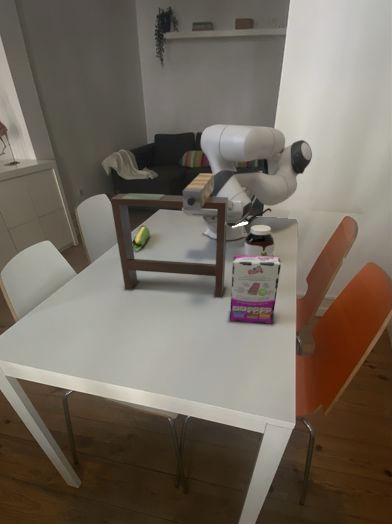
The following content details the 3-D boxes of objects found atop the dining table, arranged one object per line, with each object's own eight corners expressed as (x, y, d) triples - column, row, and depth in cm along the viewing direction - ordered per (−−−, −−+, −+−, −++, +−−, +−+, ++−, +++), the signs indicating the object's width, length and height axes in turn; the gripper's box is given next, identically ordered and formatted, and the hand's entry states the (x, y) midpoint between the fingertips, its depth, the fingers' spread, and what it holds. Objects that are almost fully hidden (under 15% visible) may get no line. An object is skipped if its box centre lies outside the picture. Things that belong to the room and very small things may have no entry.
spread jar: (244, 265, 112) (247, 231, 104) (240, 253, 121) (242, 221, 113) (278, 264, 112) (284, 231, 105) (271, 252, 121) (276, 220, 114)
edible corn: (151, 235, 138) (150, 224, 135) (143, 252, 122) (141, 240, 120) (139, 234, 138) (138, 224, 136) (130, 252, 123) (128, 240, 120)
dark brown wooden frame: (131, 280, 103) (118, 192, 87) (223, 287, 98) (228, 196, 82) (125, 289, 98) (110, 198, 82) (221, 297, 94) (225, 202, 78)
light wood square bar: (199, 189, 90) (199, 173, 88) (213, 189, 90) (214, 173, 87) (182, 210, 72) (181, 191, 70) (199, 211, 72) (199, 192, 69)
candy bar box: (271, 314, 86) (280, 255, 76) (272, 324, 82) (282, 264, 72) (229, 311, 87) (233, 253, 77) (228, 321, 83) (232, 261, 73)
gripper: (186, 203, 113) (178, 189, 99) (244, 205, 109) (244, 190, 96) (185, 221, 113) (176, 210, 100) (242, 224, 110) (242, 212, 97)
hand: (210, 200), depth 98 cm, fingers open, 8 cm apart
